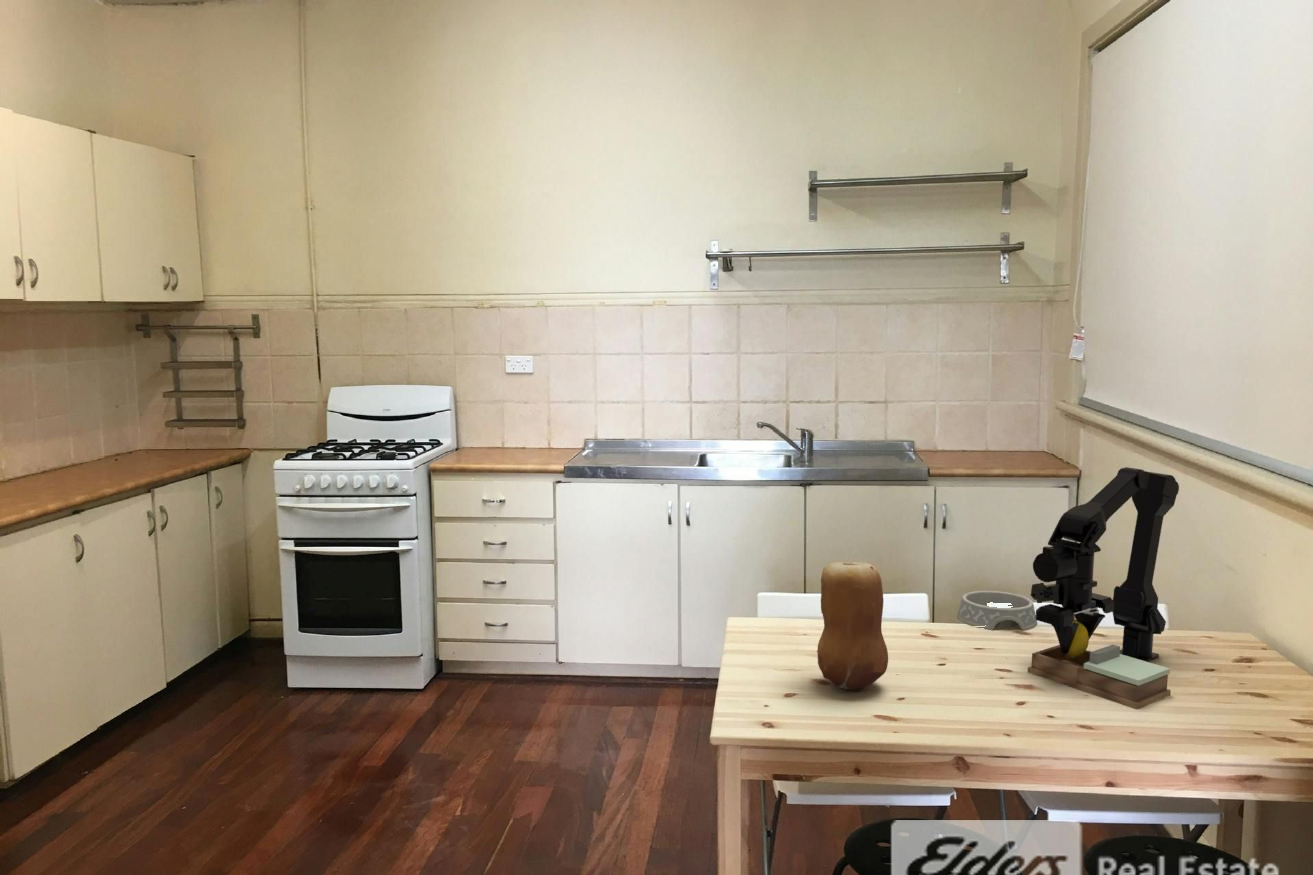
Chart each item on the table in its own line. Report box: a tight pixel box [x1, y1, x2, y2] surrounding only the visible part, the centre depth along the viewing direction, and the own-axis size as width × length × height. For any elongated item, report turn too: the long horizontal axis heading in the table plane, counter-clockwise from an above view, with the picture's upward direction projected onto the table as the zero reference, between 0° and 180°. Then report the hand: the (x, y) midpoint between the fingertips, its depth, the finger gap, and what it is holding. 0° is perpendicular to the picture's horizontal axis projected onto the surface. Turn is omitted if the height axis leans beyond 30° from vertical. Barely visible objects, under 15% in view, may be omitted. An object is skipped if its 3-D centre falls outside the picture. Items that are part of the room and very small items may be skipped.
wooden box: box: [1027, 644, 1172, 710], centre depth 196 cm, size 23×12×4 cm, turn 35°
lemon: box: [1067, 619, 1090, 658], centre depth 200 cm, size 6×6×8 cm
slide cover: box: [1084, 644, 1171, 686], centre depth 191 cm, size 11×11×3 cm
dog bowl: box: [956, 590, 1038, 632], centre depth 237 cm, size 17×18×5 cm
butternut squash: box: [816, 561, 889, 692], centre depth 192 cm, size 14×13×25 cm
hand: (1073, 650), depth 201 cm, fingers closed on lemon, 5 cm apart
